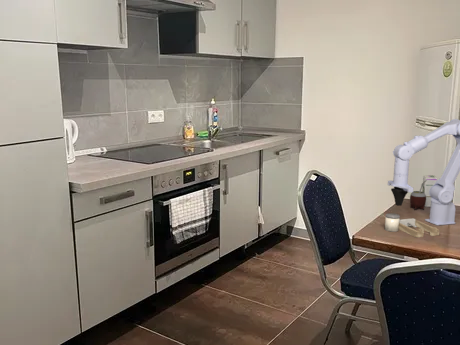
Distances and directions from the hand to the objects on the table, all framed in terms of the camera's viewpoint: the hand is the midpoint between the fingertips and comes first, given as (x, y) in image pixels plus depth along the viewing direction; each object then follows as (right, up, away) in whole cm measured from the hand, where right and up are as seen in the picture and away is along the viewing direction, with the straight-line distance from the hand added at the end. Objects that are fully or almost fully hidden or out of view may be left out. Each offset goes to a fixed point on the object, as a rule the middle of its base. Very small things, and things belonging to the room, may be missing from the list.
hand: (398, 205), depth 194 cm
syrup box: (+25, -2, +29) cm, 39 cm away
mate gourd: (+18, -4, +23) cm, 29 cm away
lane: (+3, -10, -9) cm, 14 cm away
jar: (-6, -9, -8) cm, 14 cm away
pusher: (+2, -9, -7) cm, 11 cm away
